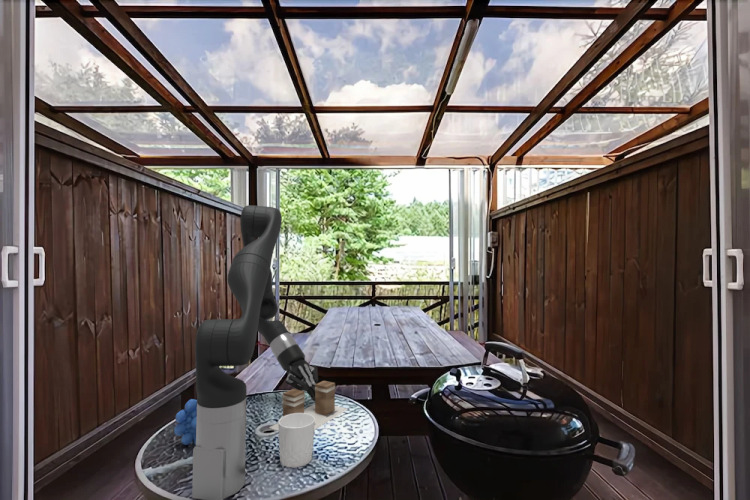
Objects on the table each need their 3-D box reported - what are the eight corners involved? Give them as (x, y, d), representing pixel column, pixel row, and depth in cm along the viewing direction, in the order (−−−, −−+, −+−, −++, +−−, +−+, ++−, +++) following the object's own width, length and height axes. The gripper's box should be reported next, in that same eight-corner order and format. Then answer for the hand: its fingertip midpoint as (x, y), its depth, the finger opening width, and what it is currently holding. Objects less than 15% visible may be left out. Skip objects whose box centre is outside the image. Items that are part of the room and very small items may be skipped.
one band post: (314, 412, 107) (314, 384, 107) (323, 407, 110) (323, 380, 111) (326, 415, 105) (326, 387, 105) (335, 410, 108) (335, 382, 108)
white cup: (318, 457, 86) (318, 413, 86) (308, 477, 78) (309, 428, 78) (284, 455, 87) (285, 411, 87) (272, 474, 79) (273, 426, 79)
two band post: (282, 423, 99) (282, 393, 100) (292, 417, 103) (293, 388, 103) (293, 426, 97) (294, 396, 98) (304, 420, 101) (304, 391, 101)
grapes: (228, 436, 96) (229, 389, 96) (219, 449, 89) (220, 398, 89) (181, 437, 95) (182, 390, 95) (169, 451, 88) (170, 399, 88)
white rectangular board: (268, 433, 97) (268, 427, 97) (318, 406, 115) (319, 401, 115) (301, 444, 92) (301, 437, 92) (348, 414, 110) (348, 408, 110)
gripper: (278, 348, 108) (310, 398, 102) (307, 339, 120) (338, 384, 113) (264, 363, 111) (295, 414, 104) (294, 354, 122) (324, 399, 116)
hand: (317, 398), depth 109 cm, fingers closed
